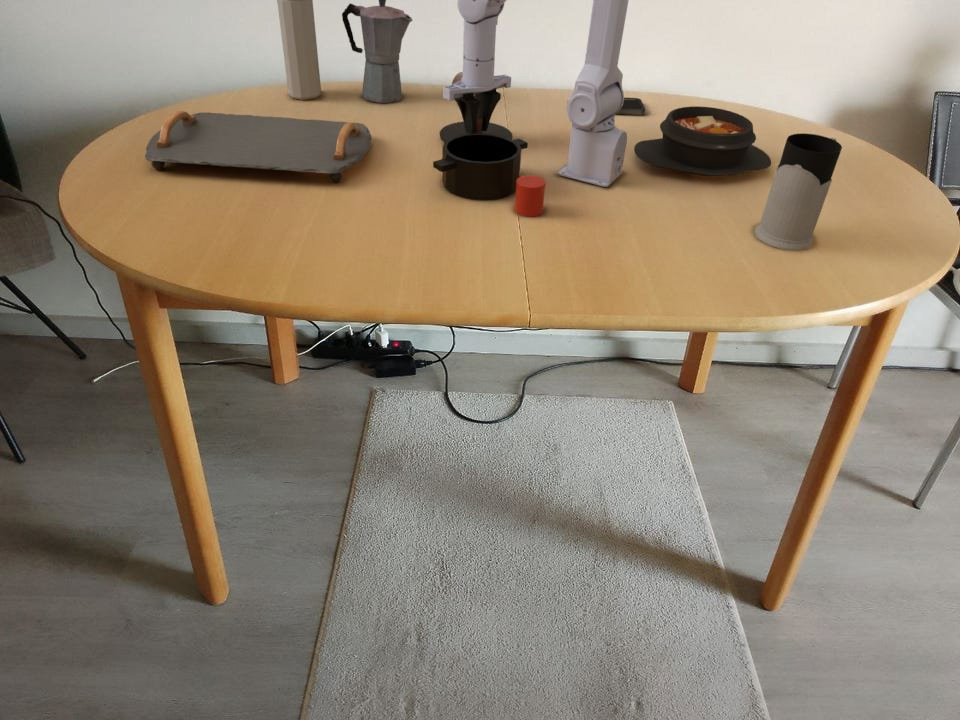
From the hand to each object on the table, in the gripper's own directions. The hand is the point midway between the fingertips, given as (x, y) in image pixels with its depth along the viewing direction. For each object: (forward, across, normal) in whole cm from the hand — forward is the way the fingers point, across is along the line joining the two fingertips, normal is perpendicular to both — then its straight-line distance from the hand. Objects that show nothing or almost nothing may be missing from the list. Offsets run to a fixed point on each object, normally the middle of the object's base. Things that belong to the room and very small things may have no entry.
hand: (476, 131), depth 139 cm
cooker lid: (+1, 0, 0) cm, 1 cm away
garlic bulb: (+2, -15, -22) cm, 27 cm away
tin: (+2, +12, +28) cm, 31 cm away
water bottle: (+2, +14, -42) cm, 44 cm away
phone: (+2, -36, +1) cm, 36 cm away
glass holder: (+2, -18, +57) cm, 60 cm away
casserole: (+2, -28, +32) cm, 42 cm away
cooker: (+2, +12, +16) cm, 20 cm away
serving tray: (+2, +36, -16) cm, 40 cm away
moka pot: (+2, +2, -32) cm, 32 cm away
